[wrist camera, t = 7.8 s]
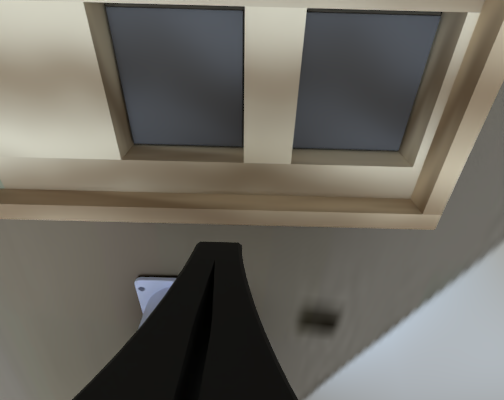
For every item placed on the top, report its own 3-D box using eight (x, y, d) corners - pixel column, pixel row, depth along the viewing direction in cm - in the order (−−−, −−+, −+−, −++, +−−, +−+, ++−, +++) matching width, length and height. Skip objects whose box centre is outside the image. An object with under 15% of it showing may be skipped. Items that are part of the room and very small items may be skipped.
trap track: (407, 195, 19) (434, 229, 16) (-93, 182, 19) (-154, 215, 16) (507, -77, 12) (586, -100, 9) (-290, -99, 12) (-463, -129, 9)
